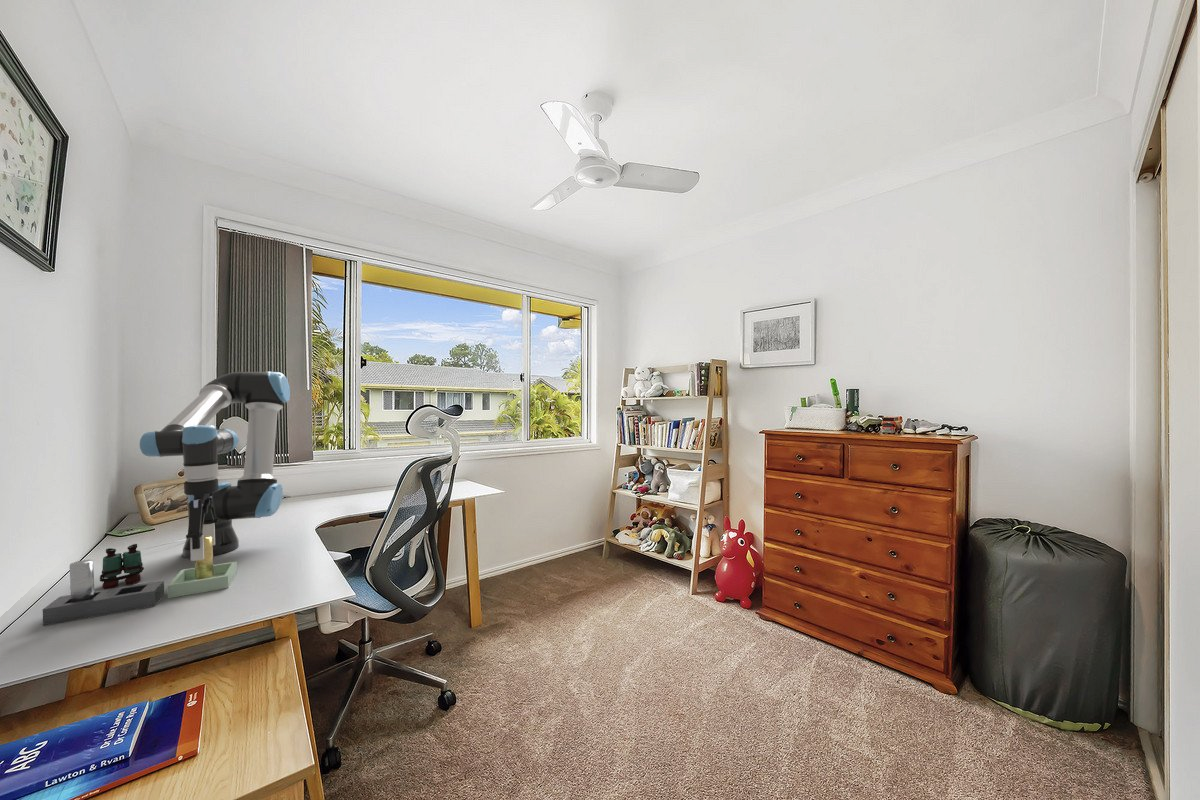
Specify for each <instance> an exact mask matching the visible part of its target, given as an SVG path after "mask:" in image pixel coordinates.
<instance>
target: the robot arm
mask: <svg viewBox="0 0 1200 800" xmlns="http://www.w3.org/2000/svg"><path fill="white" fill-rule="evenodd" d="M198 394H199V395H198V396H197V397H196V398H195V399H194V400H192V402H190V403H189V404H188V405H187V406H186V407H185V408H184V409H183V410H182V411H181V412H179V414H177V415H176V416H175V417H174V418H173V419H172V420H171V421H170V422H168V424H166V426H164V428H162V429H161V430H160V431H157V430H154V431H147V432H145V433H143V434H142V435H141V437H140V439H139V449H140V452H141V453H142V454H143V456H146V457H150V458H151V457H153V458H154V457H159V458H162V457H164V458H165V457H179V456H182V457H183V458H182V460H183V463H182V464H183V465H182V466H183V468H181V470H180V472H181V473H183V479H184V482H183V490H184V495H186V496H187V502H186V503H187V512H188V514H187V515H188V526H187V527H188V529H187V534H186V535H185V539H186V540H185V541H184V545H183V547H182V557H184V558H188V559H190V562H195V560H202V559H204V539H203V536H212V546H213V556H217V555H221V554H225V553H228V552H231V551H234V550H235V549H238V548H239V546H240V542H239V541H240V540H239V537H238V536H237V535H238V534H237V533H236V531H235V529H234V526H233V520H244V519H261V518H266V517H272V516H274V515H275V514H276V513H277V512H278V510H279V509H280V506H281V503H282V500H283V495H284V491H283V486H282V484H281V483H278V478H277V477H276V476H274V474H273V472H274V460H275V449H276V448H275V447H276V439H277V438H276V436H277V425H278V424H277V423H278V422H277V421H278V412H279V411H281V410H282V409H284V404H286V403H288V402H289V401H290V399H291V388H290V384H289V381H288V379H287V377H286V376H285V374H283V373H282V372H279V371H278V372H277V371H234V372H229V373H226V374H223V375H221V376H218V377H216V378H214V379H213V380H211V381H209V382H208V383H207V384H205V385H204V386H203V387H202V388H201V389H200V391H199V393H198ZM239 403H242V404H244V406H245V408H247V409H248V411H249V412H248V413H249V414H248V415H249V416H248V426H247V434H246V445H245V454H244V466H243V475H242V476H241V477H240V478H238V479H237V481H236V482H237V484H236V485H232V483H231V482H230V481H222V482H219V479H218V478H217V477H218V476H219V463H218V455H221V454H227V453H229V452H231V451H233V450H235V449H236V448H237V446H238V445H239V437H238V434H237V433H236V432H235V431H233V430H231V429H227V428H217V427H216V426H215V425H211V424H210V425H209V422H210V421H211V420H212V419H213V418H214V417H215V416H216V415H217V414H218V413H219V412H220V411H221V410H222V409H225V408H227V407H228V406H230V405H231V404H239Z"/></svg>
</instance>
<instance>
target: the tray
mask: <svg viewBox="0 0 1200 800" xmlns="http://www.w3.org/2000/svg"><path fill="white" fill-rule="evenodd" d="M237 567H238V562H237V561H230V562H224V563H218V564H213V577H211V578H205V579H199V580H195V567H191V568H186V569H181V570H179V572H178V573H177V574H176V575H175V576H174V578H172V580H171V581H170V582H169V583H168V584H167V585H166V587H167V599H172V598H177V597H182V596H188V595H193V594H194V595H195V594H200V593H206V592H210V591H211V592H212V591H216V590H217V591H219V590H224V589H228V588H229V587H230V586H231V584H232V582H233V581H234V578H235V577H236V575H237V572H238V568H237Z"/></svg>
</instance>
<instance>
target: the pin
mask: <svg viewBox="0 0 1200 800" xmlns="http://www.w3.org/2000/svg"><path fill="white" fill-rule="evenodd" d="M94 568H95V567H94V559H83V560H79V561H75V562H71V563H70V564H69V579H70V581H69V582H70V583H69V585H70V595H71V603H73V602H79V601H85V600H91V599H93V598H94V597H95V595H94V591H95V571H94Z"/></svg>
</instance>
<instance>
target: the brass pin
mask: <svg viewBox="0 0 1200 800" xmlns="http://www.w3.org/2000/svg"><path fill="white" fill-rule="evenodd" d="M203 539H204V559H202V560H195V561H194V568H195V580H199V579H205V578H211V577H213V565H214V555H213V546H212V536H203Z"/></svg>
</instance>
